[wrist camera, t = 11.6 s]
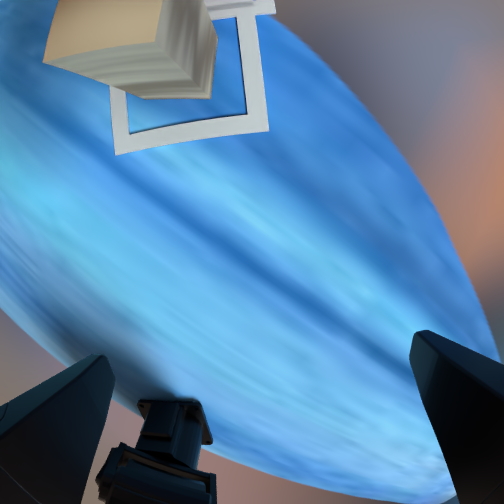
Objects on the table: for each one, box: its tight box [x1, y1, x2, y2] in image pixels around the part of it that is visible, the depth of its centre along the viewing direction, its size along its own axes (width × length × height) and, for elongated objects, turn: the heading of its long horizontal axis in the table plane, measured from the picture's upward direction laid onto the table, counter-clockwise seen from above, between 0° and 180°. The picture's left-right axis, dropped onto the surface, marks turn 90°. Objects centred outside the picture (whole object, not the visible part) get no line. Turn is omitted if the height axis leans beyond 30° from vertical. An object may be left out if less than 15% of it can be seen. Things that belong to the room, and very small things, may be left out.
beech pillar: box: [43, 0, 218, 100], centre depth 12 cm, size 4×4×11 cm
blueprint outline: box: [109, 0, 276, 155], centre depth 15 cm, size 20×12×1 cm, turn 6°
